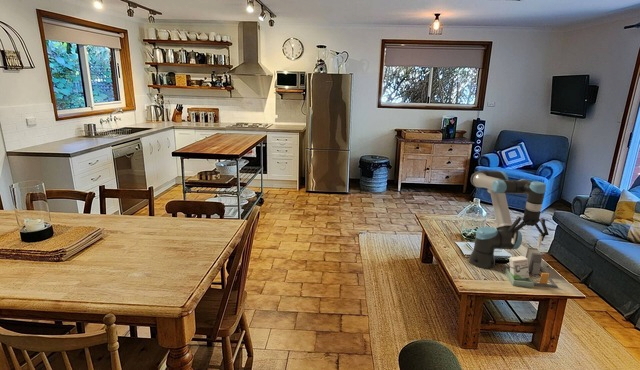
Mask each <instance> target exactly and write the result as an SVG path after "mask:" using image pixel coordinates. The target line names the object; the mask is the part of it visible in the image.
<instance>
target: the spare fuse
mask: <svg viewBox="0 0 640 370" xmlns="http://www.w3.org/2000/svg"><path fill="white" fill-rule="evenodd" d="M525 257H526V258H527V259H528V269H529V273H532V268H533V264H534V263H540V264H541V265H542V261H543V260H542V259H543V254H542V252H540V250H539V249H538V248H537V247H527V250H526V255H525Z"/></svg>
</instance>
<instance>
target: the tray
mask: <svg viewBox="0 0 640 370" xmlns="http://www.w3.org/2000/svg"><path fill="white" fill-rule="evenodd" d="M504 273H505V275H506V277H507V278H508V280H509V281H510V284H511V286H513V287H514V286H515V287H523V288H534V286H535V285H534V283H535V282H534V281H533V279H532V278H530V277H531V276H530V277H529V278H521V279H514V278H513V277H512V275H511V273H510V267H509V268H507V267H506V268H505V271H504ZM531 279H532V280H531Z"/></svg>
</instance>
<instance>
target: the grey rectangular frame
mask: <svg viewBox="0 0 640 370" xmlns="http://www.w3.org/2000/svg"><path fill="white" fill-rule="evenodd" d="M541 265H542V263H541V264H540V263H534V264H533V268H532V272H531V274H532V275H539V273H540V271H541V275H540V278H539V282H534V285H533V286H539V287H548V288H558V285H557V284H556V283H555V281H554V280H553V278H551V276H550V273H547V271H546V270H545V269H544V268H543V267H542V266H541ZM529 277H530V278H531V276H530V275H529ZM531 280H532V281H533V279H532V278H531ZM548 283H549V284H548Z"/></svg>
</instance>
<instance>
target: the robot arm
mask: <svg viewBox="0 0 640 370" xmlns="http://www.w3.org/2000/svg"><path fill="white" fill-rule="evenodd" d="M470 183H471V185H473V187H475V188H479V189H480V188H482V189H483V188H484V189H486V191H487V193H489V194H490V197H491V202H492V208H493V212H494V217H495V218H494V219H495V222H496V227H493V226H485V225H484V226H481V227H478V228H477V230H476V233H475V238H474V239H475V240H474V246H473V250H472V252H471V253H470V255H469V258H468V262H469V263H470V264H471V265H473V266H475V267H477V268H481V269H493V268H494V267H495V266H496V265H495V264H496V261H495V260H496V258H495V250H510V251H511V250H517V249H519V248H520V247H521V245H522V241H523V235H522V232H521V231H519V230H521V229H522V228H524V227H526V226H527V227H528V226H530V227H533V226H535V228H536V229H537V230H538V232H539V234H538V238H537V243H536V245H537V247H539V248H540V247H541V245H542V242H543V241H544V240H545V237H546V236H549V230H548V229H547V225H546V219H544V217H541V211H542V208H543V203H544V199H545V193H546V189H547V185H546V183H545V182H541V181H536V180H534V181H531V180H528V179H525V178H521V179H518V180H509V176H508V175H507V173H506V172H505V171H501V170H477V171H475V172H474V173H472V174H471V177H470ZM506 194H513V195H514V194H517V195H524V196H525V195H526V196H527V198H526V202H525V209H524V212H523V213H524V214H523V216H520V215H517V217H516V219H515V220H514V222H512V218H511V214H510V209H509V204H508V201H507V200H508V199H507V197H506ZM540 217H541V218H540ZM538 223H541V227H542V229H541V227H540V226H539V224H538Z"/></svg>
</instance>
